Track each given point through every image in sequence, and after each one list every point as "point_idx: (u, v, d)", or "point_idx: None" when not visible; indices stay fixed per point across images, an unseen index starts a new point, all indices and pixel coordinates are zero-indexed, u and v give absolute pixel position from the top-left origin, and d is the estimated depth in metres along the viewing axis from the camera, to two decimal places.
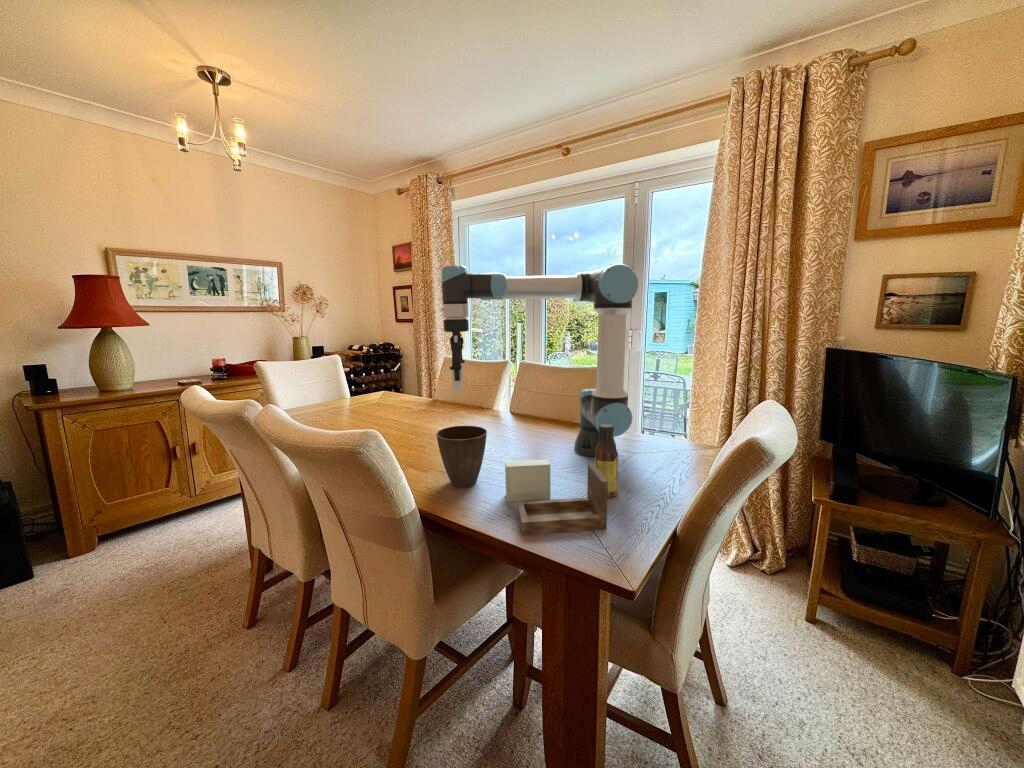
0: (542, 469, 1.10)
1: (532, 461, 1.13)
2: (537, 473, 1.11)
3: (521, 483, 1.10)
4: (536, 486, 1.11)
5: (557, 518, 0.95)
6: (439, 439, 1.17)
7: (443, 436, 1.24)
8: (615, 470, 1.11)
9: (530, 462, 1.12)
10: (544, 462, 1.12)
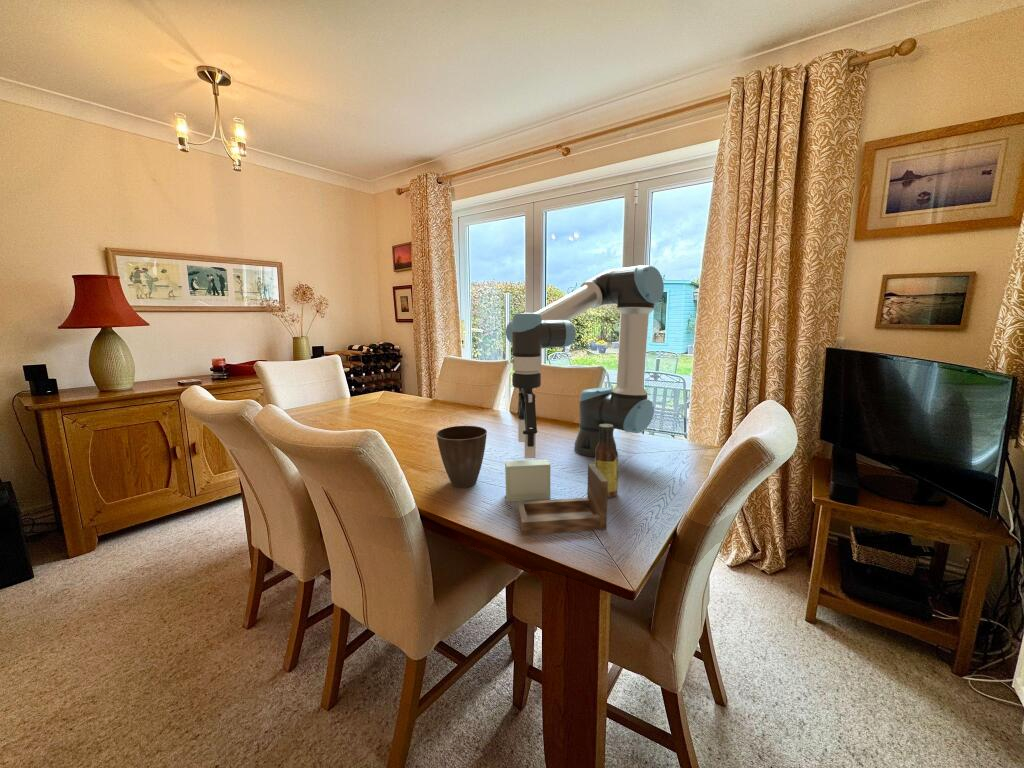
0: (542, 469, 1.10)
1: (532, 461, 1.13)
2: (537, 473, 1.11)
3: (522, 483, 1.10)
4: (536, 486, 1.11)
5: (557, 518, 0.95)
6: (439, 439, 1.17)
7: (443, 436, 1.24)
8: (615, 470, 1.11)
9: (530, 462, 1.12)
10: (544, 462, 1.12)
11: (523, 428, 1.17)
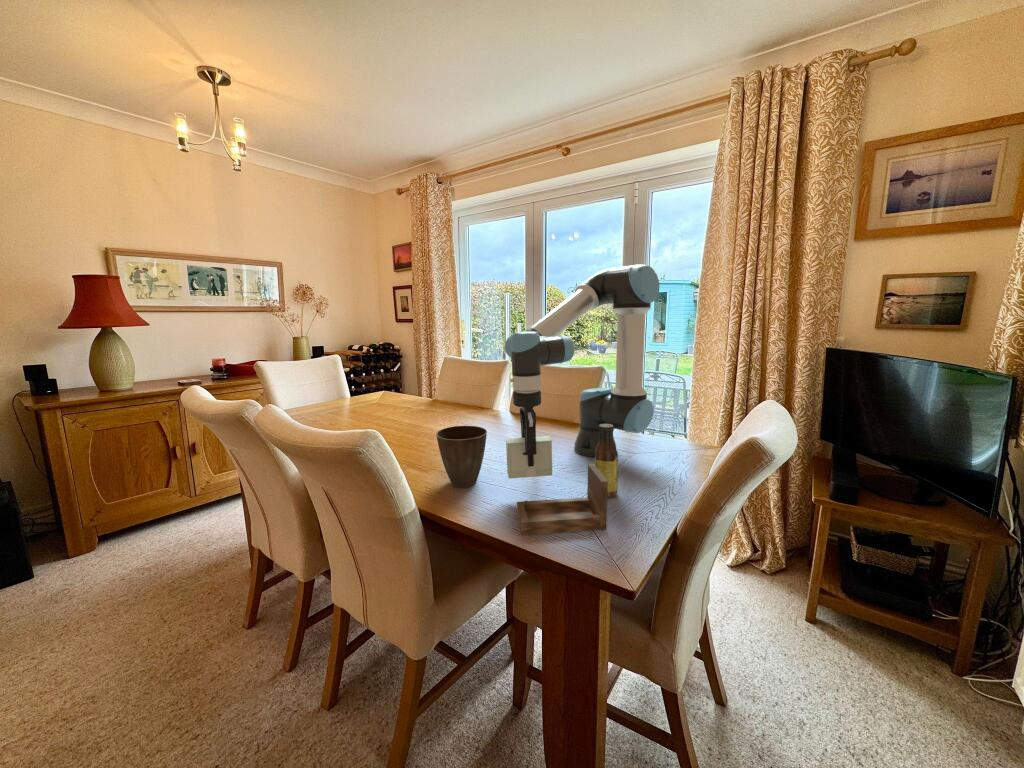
0: (543, 445, 1.10)
1: None
2: (539, 449, 1.10)
3: (523, 459, 1.10)
4: (537, 462, 1.10)
5: (557, 518, 0.95)
6: (439, 439, 1.17)
7: (443, 436, 1.24)
8: (615, 470, 1.11)
9: None
10: (545, 438, 1.11)
11: None
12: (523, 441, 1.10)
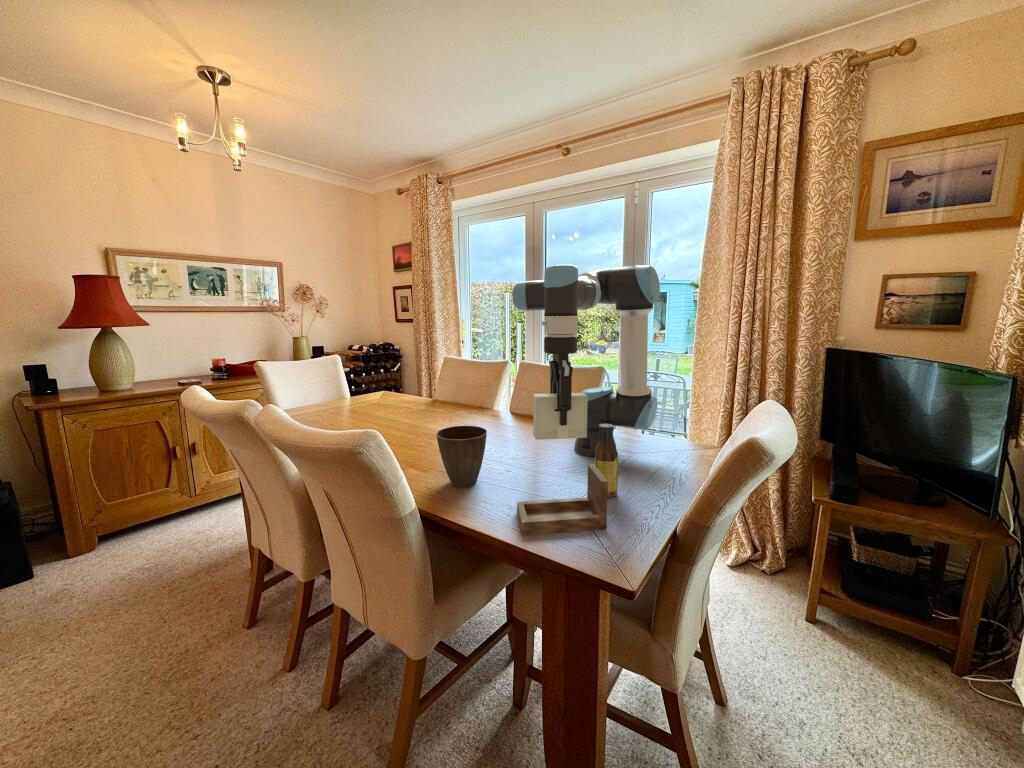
0: (578, 401, 0.93)
1: None
2: (572, 405, 0.93)
3: (553, 417, 0.93)
4: (570, 421, 0.94)
5: (557, 518, 0.95)
6: (439, 439, 1.17)
7: (443, 436, 1.24)
8: (615, 470, 1.11)
9: None
10: (580, 394, 0.95)
11: None
12: (554, 396, 0.93)
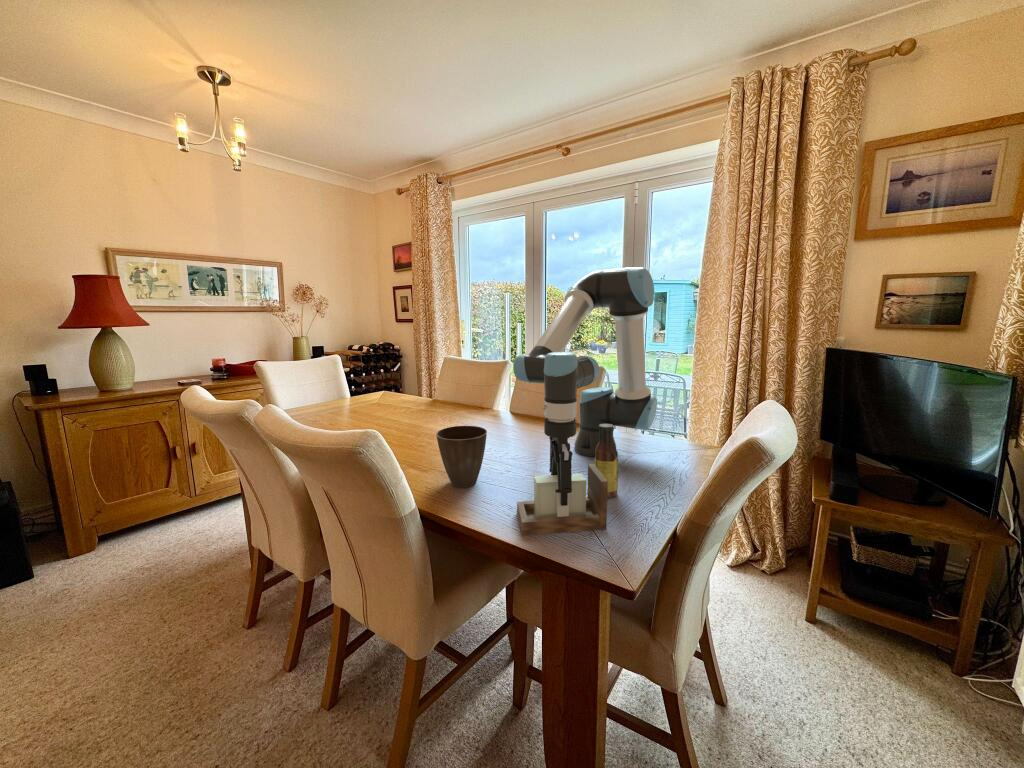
0: (577, 485, 0.97)
1: None
2: (572, 490, 0.97)
3: (554, 501, 0.97)
4: (570, 504, 0.98)
5: (557, 518, 0.95)
6: (439, 439, 1.17)
7: (443, 436, 1.24)
8: (615, 470, 1.11)
9: None
10: (579, 477, 0.99)
11: None
12: (554, 480, 0.97)
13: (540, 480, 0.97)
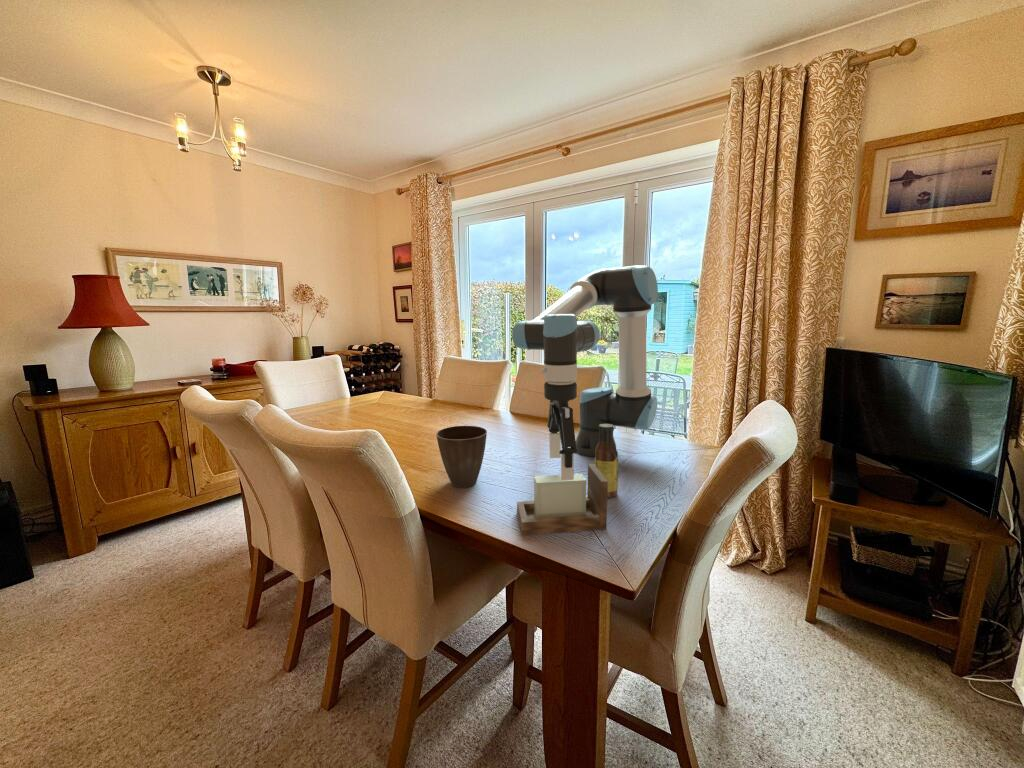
0: (577, 485, 0.97)
1: None
2: (572, 490, 0.97)
3: (554, 501, 0.97)
4: (570, 504, 0.98)
5: (557, 518, 0.95)
6: (439, 439, 1.17)
7: (443, 436, 1.24)
8: (615, 470, 1.11)
9: None
10: (579, 477, 0.99)
11: (555, 443, 1.04)
12: (554, 480, 0.97)
13: (540, 480, 0.97)
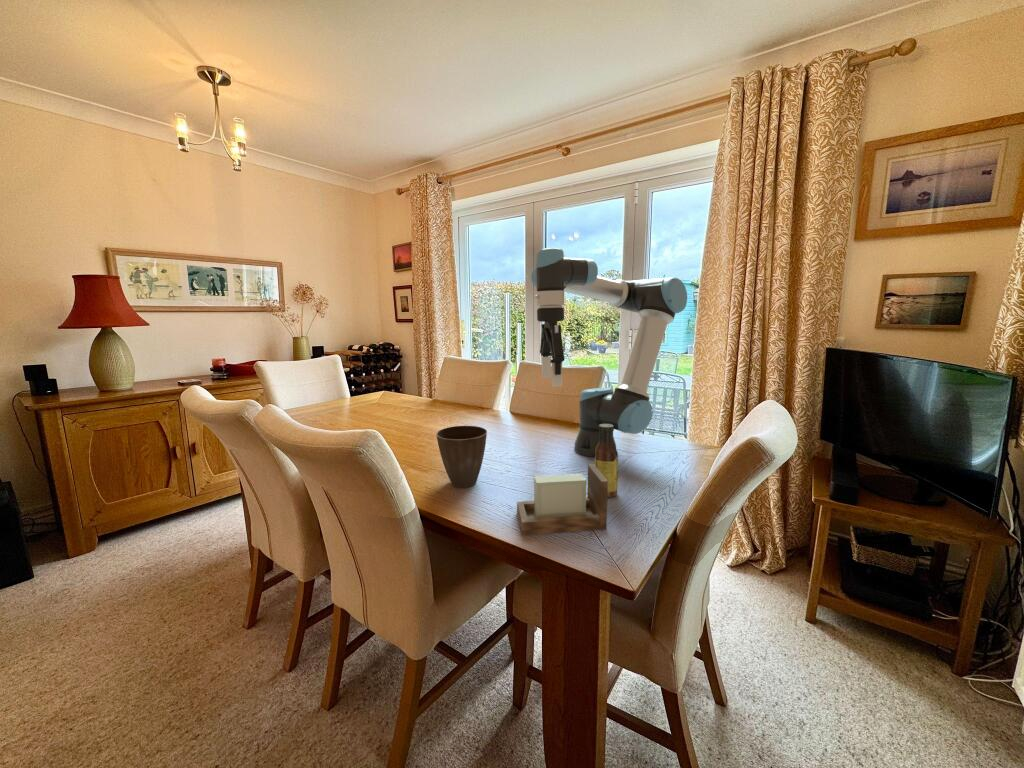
0: (577, 485, 0.97)
1: (565, 476, 1.00)
2: (572, 490, 0.97)
3: (554, 501, 0.97)
4: (570, 504, 0.98)
5: (557, 518, 0.95)
6: (439, 439, 1.17)
7: (443, 436, 1.24)
8: (615, 470, 1.11)
9: (562, 477, 0.99)
10: (579, 477, 0.99)
11: (546, 365, 1.23)
12: (554, 480, 0.97)
13: (540, 480, 0.97)
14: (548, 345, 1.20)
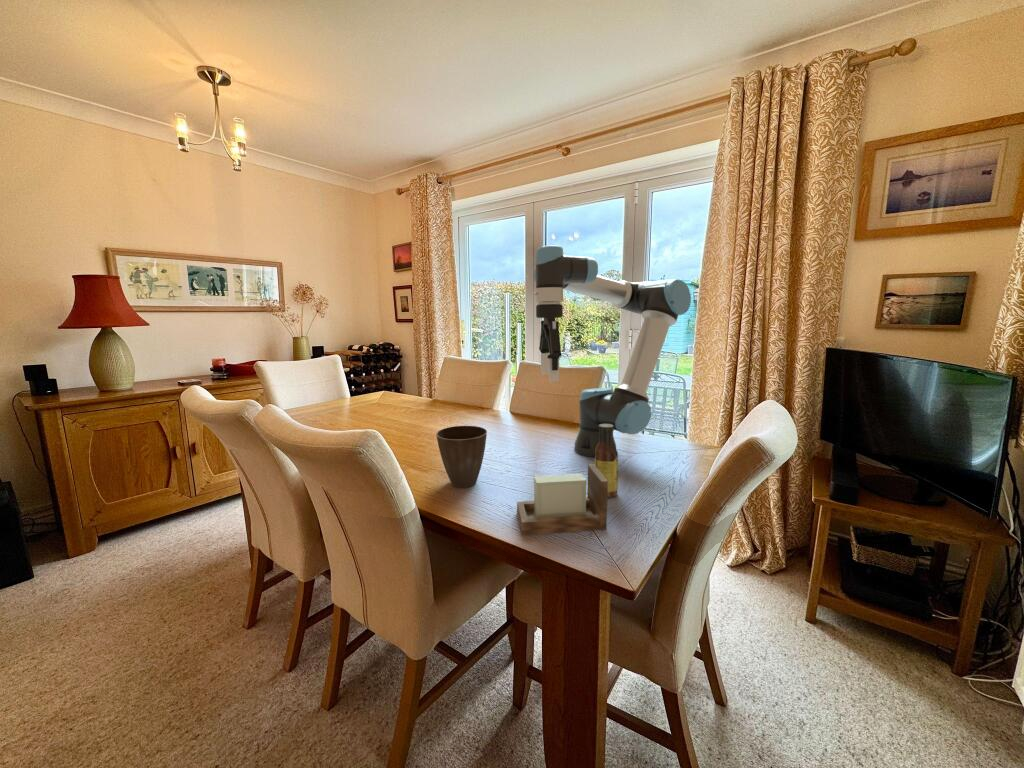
0: (577, 485, 0.97)
1: (565, 476, 1.00)
2: (572, 490, 0.97)
3: (554, 501, 0.97)
4: (570, 504, 0.98)
5: (557, 518, 0.95)
6: (439, 439, 1.17)
7: (443, 436, 1.24)
8: (615, 470, 1.11)
9: (562, 477, 0.99)
10: (579, 477, 0.99)
11: (545, 361, 1.24)
12: (554, 480, 0.97)
13: (540, 480, 0.97)
14: (547, 341, 1.21)
